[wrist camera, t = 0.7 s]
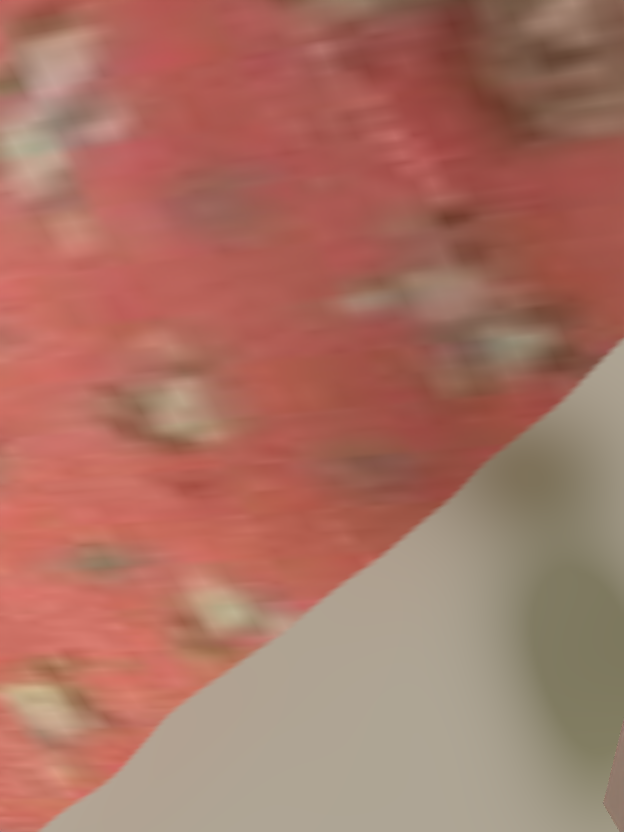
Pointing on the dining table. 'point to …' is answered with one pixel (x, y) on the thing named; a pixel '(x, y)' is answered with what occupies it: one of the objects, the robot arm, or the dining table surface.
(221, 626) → the dining table surface
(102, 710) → the dining table surface
